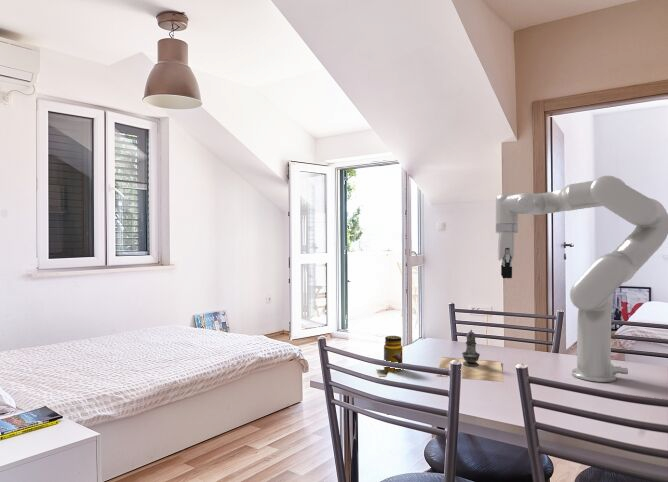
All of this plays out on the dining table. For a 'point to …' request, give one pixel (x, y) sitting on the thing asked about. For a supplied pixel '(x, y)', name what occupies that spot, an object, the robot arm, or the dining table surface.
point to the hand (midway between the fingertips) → (506, 277)
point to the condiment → (391, 354)
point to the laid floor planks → (480, 375)
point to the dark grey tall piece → (470, 351)
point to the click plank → (483, 366)
